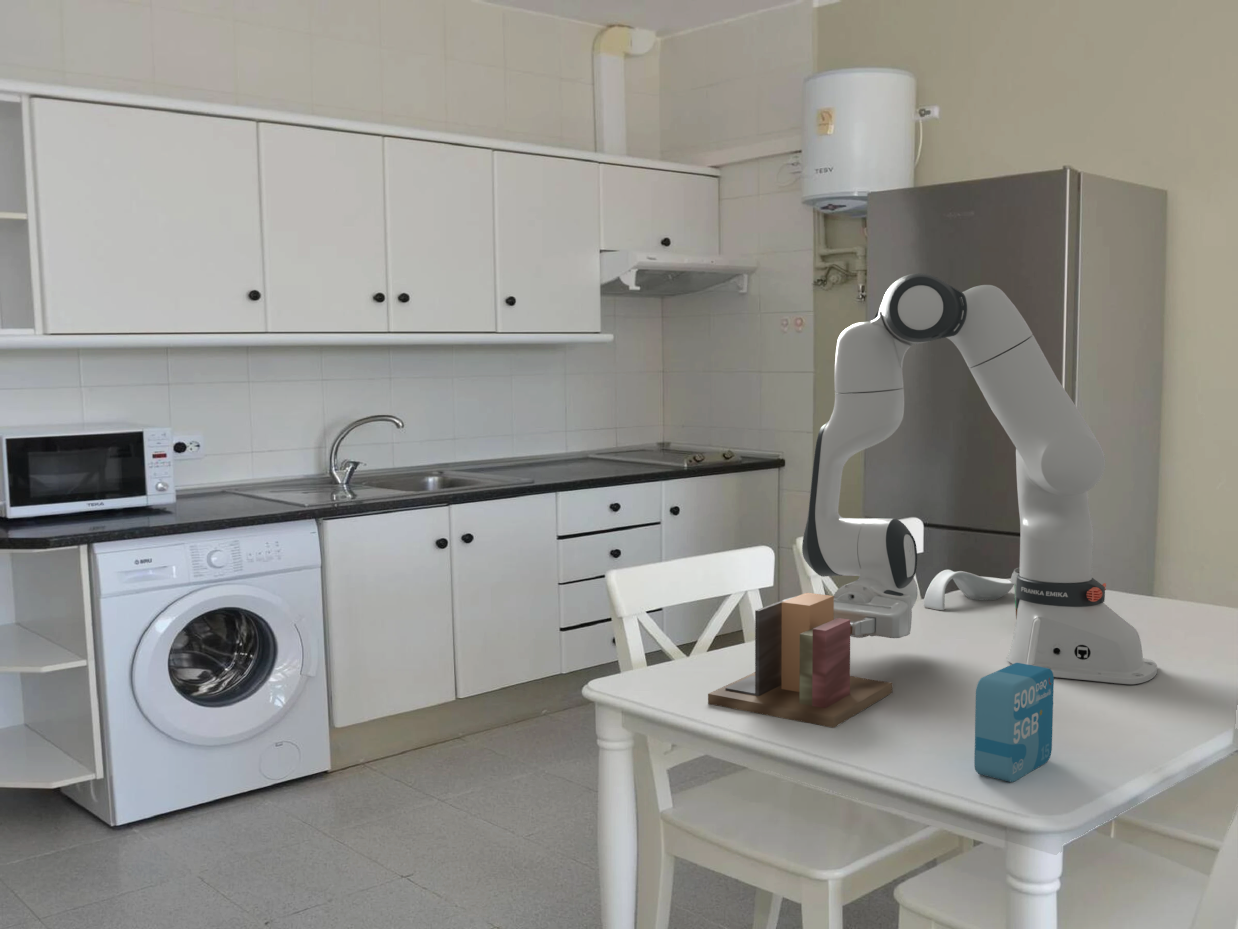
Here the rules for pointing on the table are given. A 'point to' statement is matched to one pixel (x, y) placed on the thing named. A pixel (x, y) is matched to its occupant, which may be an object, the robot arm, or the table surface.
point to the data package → (1013, 721)
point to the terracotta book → (800, 630)
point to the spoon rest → (965, 588)
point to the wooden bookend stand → (802, 676)
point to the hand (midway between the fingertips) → (821, 625)
